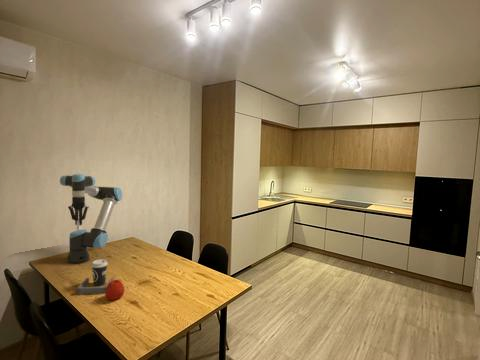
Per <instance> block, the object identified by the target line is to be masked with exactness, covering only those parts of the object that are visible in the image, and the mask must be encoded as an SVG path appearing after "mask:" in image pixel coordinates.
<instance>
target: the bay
mask: <svg viewBox="0 0 480 360" xmlns="http://www.w3.org/2000/svg"><path fill="white" fill-rule="evenodd" d="M114 277H115V276H112V277H110V279H109V280H108V281H107V283H105V284H104V286H91V287H90V286H89V287H87V286H88V285H89V283H90V277H86V278H85V279H84V280H83V281H82V282H81V283H80V285H78V286H77V287H76V295H88V294H89V295H91V294H94V295H95V294H105V290H106V288H107V286H108V284H109V283H110V282H111V281H113V280H115V279H114Z"/></svg>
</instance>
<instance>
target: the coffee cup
mask: <svg viewBox="0 0 480 360" xmlns="http://www.w3.org/2000/svg"><path fill="white" fill-rule="evenodd" d="M108 265H109V263H108V261H107V260H106V259H103V258H101V259H96V260H94V261H92V262H91V265H90V267H91V271H92V279H93V281H92V282H93V287H103V286H105V285H106V280H107V278H106V277H107V267H108Z"/></svg>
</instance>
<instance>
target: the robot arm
mask: <svg viewBox="0 0 480 360" xmlns="http://www.w3.org/2000/svg"><path fill="white" fill-rule="evenodd" d="M95 183H96V178H95V177H94V176H92V175H85V174H82V173H81V174H80V173H79V174H77V173H76V174H73V175H68V174H67V175H61V176H60V178H59V184H60V185H61V186H65V187H70V188H71V196H72V197H71V200H72V201H71V205H69V206H67V208H68V210H69V212H70V216H71V217H70V218H71V220H72V221H74V223H75V226H76V230H74V231H71V232H70V233H69V237H68V239H69V240H68V241H69V252H68V254H67V257H66V262H67V263H70V264H80V263H84V262H86V261H88V260H90V253H89V250H88V248H91V249H92V248H94V249H102V248H103V247H105V246H106V244H107V243H108V240H109V238H108V237H109V236H108V233H107V228H108V224H109V221H110V219H111V217H112V212H113V210H114V207H115V205H117V204H118V202H119V201H122V200H123V199H122V198H123V191H122V189H121V188H120V187H116V186H113V187H111V186H97V185H95ZM86 194H87V195H88V196H89V197H91V198H93V199H96V200H100V201H102V202H103V203H102V205H101V208H100V210H99V213H98V216H97V219H96V222H95V224H94V227H92V228H91V229H90V230H89V231H88V230H87V229H82V225H83V220H85V219H86V216H87V213H88V209H89V208H90V206H89V205H87V204H86V199H85V195H86Z"/></svg>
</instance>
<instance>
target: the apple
mask: <svg viewBox="0 0 480 360" xmlns="http://www.w3.org/2000/svg"><path fill="white" fill-rule="evenodd" d="M124 294H125V286H124V284H123V282H122V281H121V280H119V279H114V280H113V281H111V282H110V283H109V284H108V286H107V288H106V290H105V293H104V295H105V298H106V299H107V300H110V301H115V300H117V299H120V298H122V297H123V296H124Z"/></svg>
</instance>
